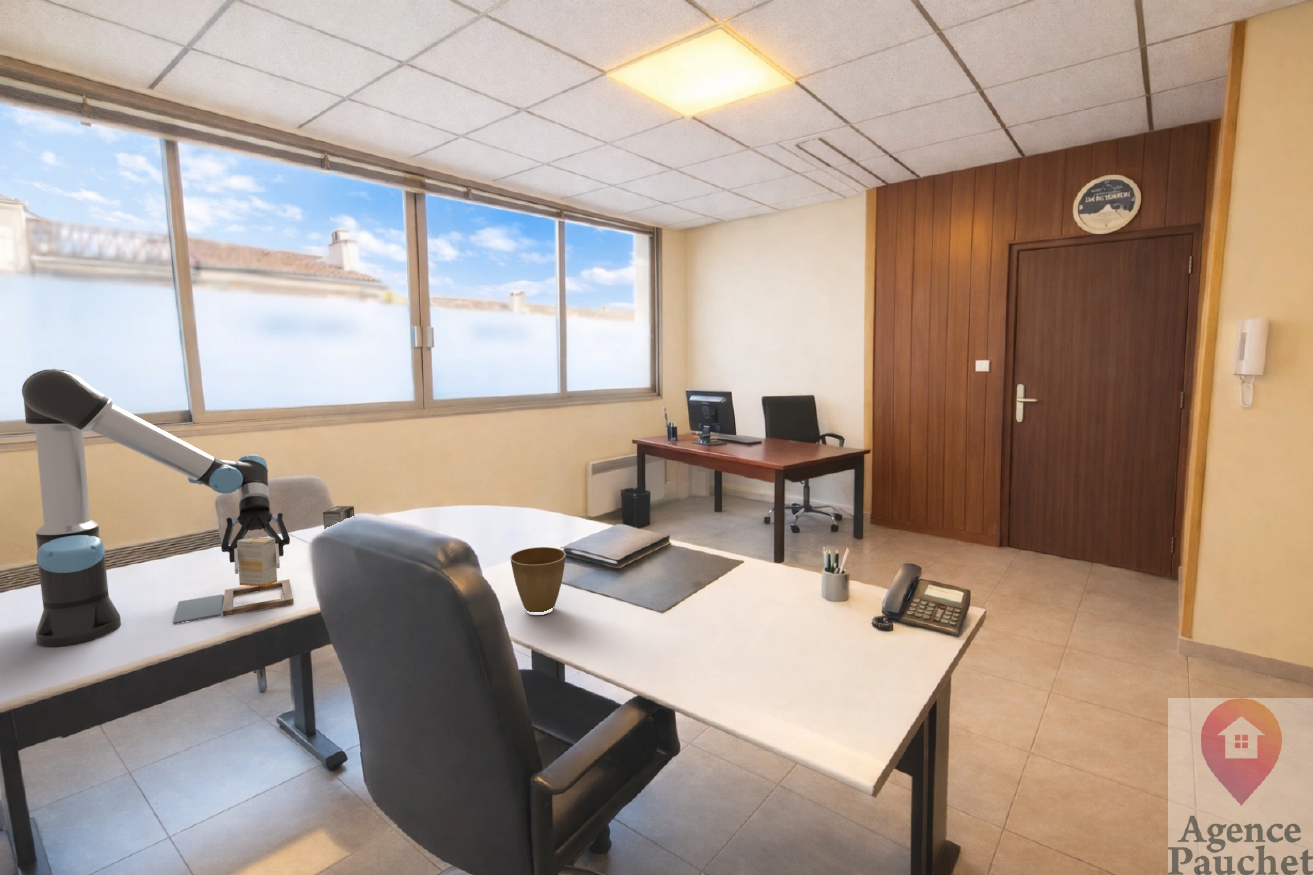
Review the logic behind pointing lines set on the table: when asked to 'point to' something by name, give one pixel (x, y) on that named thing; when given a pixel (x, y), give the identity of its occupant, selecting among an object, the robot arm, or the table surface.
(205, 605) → the mat
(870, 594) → the table surface
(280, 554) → the robot arm
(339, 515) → the coffee box
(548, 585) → the plant pot
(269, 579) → the supplement box
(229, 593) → the holder
